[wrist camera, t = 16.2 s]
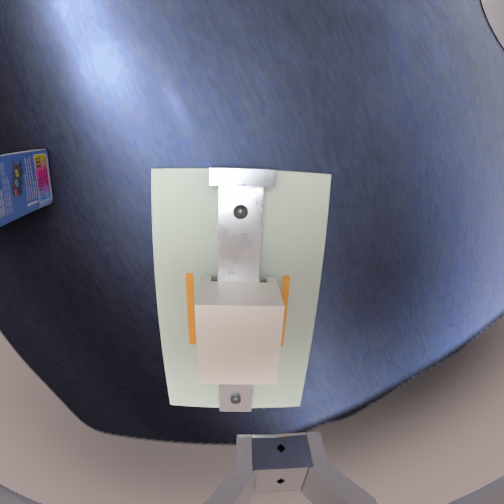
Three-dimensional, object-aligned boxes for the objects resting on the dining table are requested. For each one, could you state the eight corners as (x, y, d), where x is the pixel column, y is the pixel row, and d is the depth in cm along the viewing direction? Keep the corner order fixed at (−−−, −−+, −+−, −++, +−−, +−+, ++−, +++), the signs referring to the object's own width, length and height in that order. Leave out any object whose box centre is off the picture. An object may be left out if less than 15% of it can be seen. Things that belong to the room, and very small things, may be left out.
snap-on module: (275, 276, 26) (284, 306, 21) (269, 348, 28) (276, 385, 23) (201, 275, 25) (194, 304, 21) (204, 347, 28) (199, 384, 23)
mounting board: (327, 173, 25) (331, 174, 24) (298, 400, 32) (300, 407, 31) (154, 168, 24) (151, 168, 23) (171, 398, 31) (170, 405, 30)
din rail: (270, 167, 23) (275, 169, 21) (256, 401, 30) (258, 422, 28) (212, 165, 23) (209, 167, 20) (214, 401, 30) (213, 421, 27)
